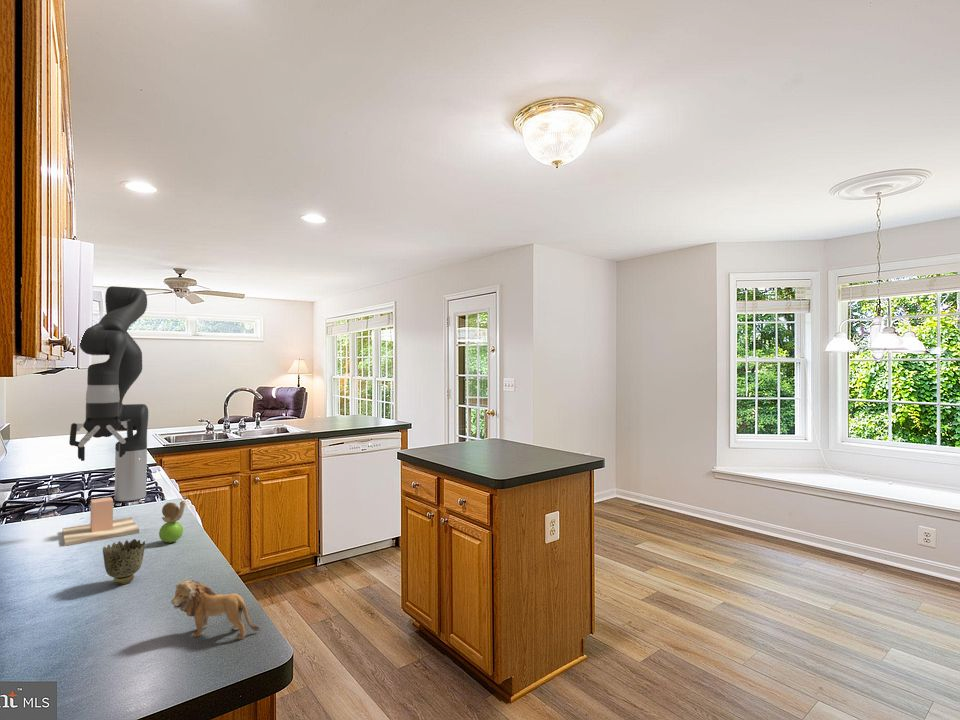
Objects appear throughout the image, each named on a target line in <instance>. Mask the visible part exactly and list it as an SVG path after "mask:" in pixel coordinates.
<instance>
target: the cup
mask: <svg viewBox="0 0 960 720" xmlns="http://www.w3.org/2000/svg"><path fill="white" fill-rule="evenodd" d="M145 546H146V541H145V540H144V541H142V542H141V540H140V539H138V540H137V539H136V538H133V539H132V540H130V541H128V539H127V540H125V541H124V544H123V542H122V541H118V542H117V543H116V542H113V543H112V544H111V545H110V544H108V545H107V547H106V546H103V547H102V557H103V562H104V568H105V571H106V574H107V575H108V576H109V577H111V578H113V580H112V581H113V583H114V585H117V586H118V585H119V586H122V585H126V584H130V583H131V582H133V580H134V579H135V574H136V572H138V571H139V569H141V567H142V565H143V564H142V563H143V559H144V555H145Z"/></svg>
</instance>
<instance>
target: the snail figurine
mask: <svg viewBox="0 0 960 720" xmlns="http://www.w3.org/2000/svg"><path fill="white" fill-rule="evenodd" d="M186 499H187V496H183V497H182V500H181V501H180V502H179V505H178V504H176V503H174V502H167V503H165V504H164V505H163V507H162V509H161V513H162V515H163V517H161V519H162V521H164V522H165V523H164V524H162V525H161V527H160V528H159V532H158V536H159V539H160V540H161V541H162V542H165V543H168V544H171V543H174V542H177V541H178V540H179V539H181V537H182V536H183V532H184V528H183V527H184V526H183V525H182V524H181V523H180V522H179V521H180V519H182V517H183V514H184V511H185V506H186V504H187V503H186Z"/></svg>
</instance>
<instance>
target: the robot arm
mask: <svg viewBox="0 0 960 720" xmlns="http://www.w3.org/2000/svg"><path fill="white" fill-rule="evenodd" d="M147 297H148V296H147V293H146V291H145V290H144V289H141V288H136V287H129V286H114V285H113V286H109V287H107V289H106V291H105V300H104V301H105V311H106V314H104V315H103V317H101V319H100V321H99V322H98V323H95V324H94V325H91V327H88V328H87V329H85V330H86V331H85V330H84V331H85V333H84V335H83V337H82V340H81V343H80V345H79V348H80V349H81V351H82V352H83V353H85V354H87V355H90V356H109V357H108V359H107V360H106V361H103V362H98V363H93V364H90V365H88V367H87V384H86V385H87V387H86V390H85V391H86V393H85V420H84V422H83V423H82V422H81V423H79V422H78V423H76V422H72V423H71V424H70V431H69V440H68V441H69V446H71V447H77V458H78V460H80V461H82V462H84V461H85V459H86V458H85V457H86V454H85V453H86V451H85V449H86V447H85V446H86V444H87V443H88V442H89V441H90V440H91V439H92V438H96V439H97V438H98V439H99V438H102V437H104V438H109V437H111V436H113V437H115V439H116V440H117V441H118V442H116V443H115V447H114V448H115V449H114V450H115V451H114V452H115V454H114V455H115V456H114V457H115V459H114V460H115V461H114V463H115V465H114V501H116V502H129V501H131V502H132V501H137V500H141V499H144V498H146V497H147V474H148V473H147V471H148V470H147V469H148V468H147V465H148V463H147V462H148V455H147V454H148V426H149V407H148V406H147V405H146V404H145V403H134V404H133V403H132V404H131V403H130V404H129V403H128V404H126V403H125V404H123V399H124V397H125V396H126V394H127V393H128V391H129V389H130V388H131V386H132V385H133V384H134V383H135V382H136V381H137V379H138V378H139V376H140V375H141V373H142V371H143V352H142V350H141V347H140V345H138V344H137V342H136V340H134V338H133V337H132V336H131V335H130V333H129V332H128V330H129V328H130V327H131V326H132V325H133V324H135V322H136V321H138V319H140V318H141V317H142V316H143V315H144V314H145V312H146V311H147V307H148V298H147ZM82 428H84V430H85V431H87V433H85V435H83V437H82V438H81V439H80V440H79V441H77V432H79V431H80V430H81V429H82ZM120 431H121V432H122V431H123V432H124V431H126V437H123V436H122V435H121V434H120V433H119V432H120ZM134 431H136V432H135V434H134Z"/></svg>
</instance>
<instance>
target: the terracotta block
mask: <svg viewBox="0 0 960 720" xmlns="http://www.w3.org/2000/svg"><path fill="white" fill-rule="evenodd" d="M89 519H90V521H89V524H90V529H91V531H92V532H97V531H103V530H109V529H113V520H114V500H113V498H112V496H110V497H102V498H94V499H90V518H89Z"/></svg>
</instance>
